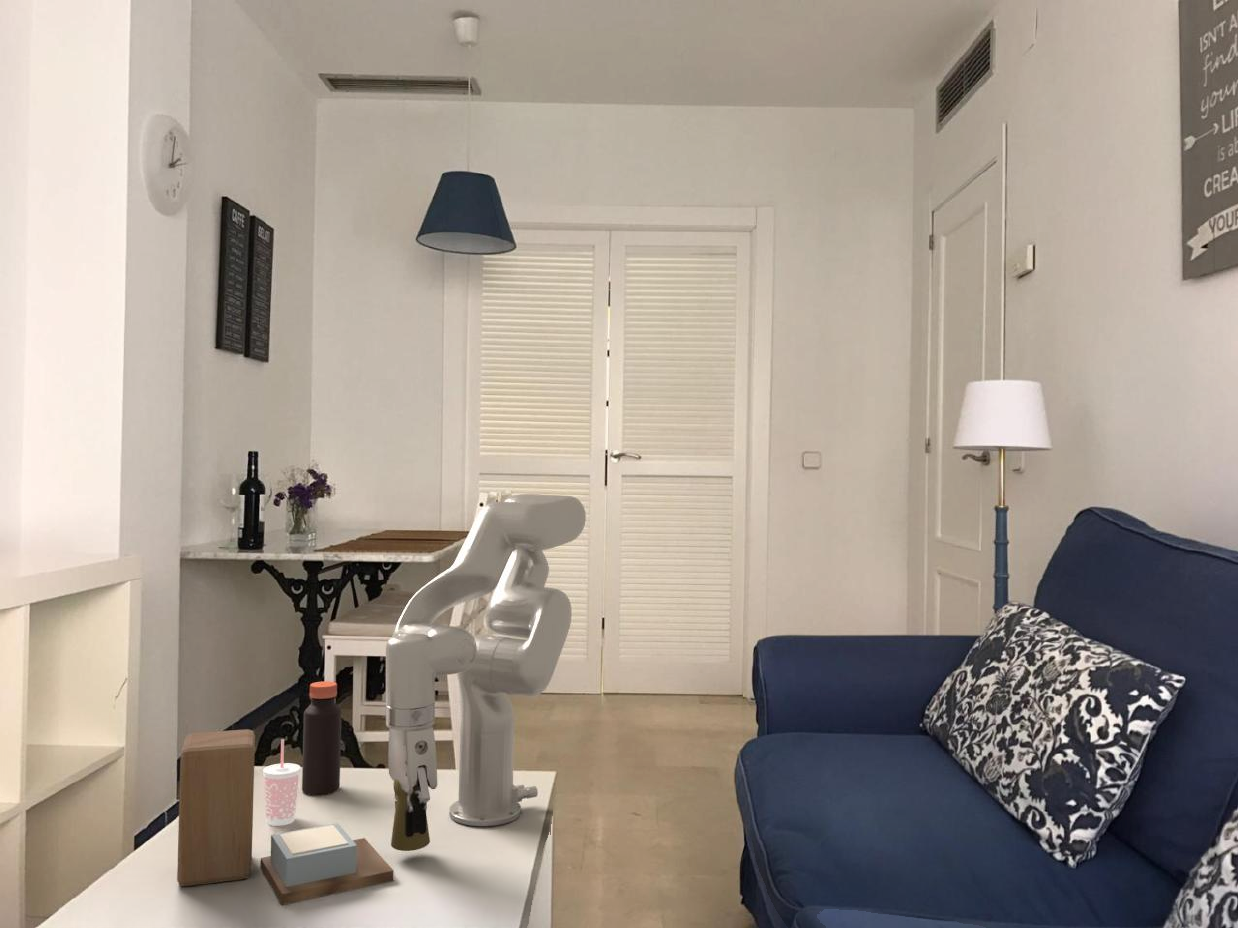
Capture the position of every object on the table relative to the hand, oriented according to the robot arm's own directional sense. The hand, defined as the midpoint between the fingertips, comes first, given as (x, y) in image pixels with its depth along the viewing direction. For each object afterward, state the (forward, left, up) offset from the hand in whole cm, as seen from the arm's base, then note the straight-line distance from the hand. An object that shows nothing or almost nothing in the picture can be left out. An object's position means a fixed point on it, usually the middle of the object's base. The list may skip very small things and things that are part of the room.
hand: (410, 828), depth 148 cm
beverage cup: (+14, -25, -5) cm, 29 cm away
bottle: (+4, -37, -5) cm, 38 cm away
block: (+27, -9, -5) cm, 29 cm away
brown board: (+13, 0, -5) cm, 14 cm away
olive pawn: (0, 0, -3) cm, 3 cm away
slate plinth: (+15, 0, -3) cm, 15 cm away
